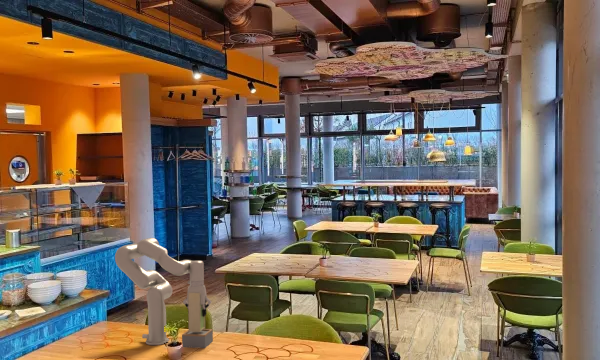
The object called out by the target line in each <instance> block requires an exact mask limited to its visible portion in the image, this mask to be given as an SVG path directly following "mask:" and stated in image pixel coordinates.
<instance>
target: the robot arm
mask: <svg viewBox="0 0 600 360" xmlns="http://www.w3.org/2000/svg"><path fill="white" fill-rule="evenodd" d="M168 253H169V252H168V250H167V248H165V247H163V246H161V245H160V243H159V241H158V239H156V238H154V237H149V238H143V239H141V240H140V241H138V242H135V243H132V244H125V245H123V246H120V247H118V249H117V250H116V252H115V255H114V259H115V264H116V266H117V267H118V268H119V270H121V272H123V273H124V274H125V275H126V276H127V277H128V278H129V279H130V280H131V281H132V282H133V283H134V284H135V285H136V286H137V287H138V289H140V290H145V289H148V290H147V291H146V296H145V297H146V303H147V314H148V316H147V317H148V319H147V321H148V323H147V324H148V329H147V330H148V333H143V334H142V336H141V337H142V339H146V340H145V344H146V345H149V346H160V345H165V344H167V343H166V342H168V341H169V342H170V339H169V338H168V337H167V331H166V332H164V326H165V325H166V326H167V310H166V309H167V306H166V303H165V300H167V299H169V298H170V297H171V296H172V294H173V291H174V290H173V287H172V285H171V283H170V282H169V281H168V280H166V278H165V277H163V276H162V275H161V274H160V273H159V272H158V271H157V270H154V269H148V270H145V269H144V268H143V267H141V265H140V264H139V263H138V262H135V261H134V259H138V258H140V257H144V256H145V257H147V258H149V259H151V260H153V261H154V262H156V263H158V264H159V265H160V266H161V268H162V269H163V270H165V271H166V272H168V273H170V274H172V275H174V276H177V277H178V276H180V277H181V276H184V275H186V274H189V280H188V281H187V284H189V285H188V286H187V293H186V294H187V295H186V298H185V299H183V301H182V303H183V304H184V306H185V307H186V308H187V312H188V313H187V314H188V315H189V305H188V293H189V292H190V293H201V294H200V305H202V307H203V310H202V313H203V317H204V316H205V317H206V315H207V309H208V307H209V306H210V305H211V304H212V302H213V301H212V300H211V299H210V298H209V297H208V295H207V289H206V285H205V280H204V279H205V276H204V275H205V271H204V268H205V265H204V264H205V263H204V261H203V260H191V259H183V260H180V261H178V260H176V259H174V258H172V257H171V256H169V255H168ZM169 342H168V343H169ZM164 343H165V344H164Z"/></svg>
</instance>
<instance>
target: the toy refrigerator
mask: <svg viewBox="0 0 600 360" xmlns="http://www.w3.org/2000/svg"><path fill="white" fill-rule="evenodd" d="M200 294H201V293H190V292H189V293H188V305H189V314H188V330H189V332H200V331H202V330H203V329H206V316H204V317H203V313H202V310H203V307H202V305H200Z"/></svg>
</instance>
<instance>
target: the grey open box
mask: <svg viewBox="0 0 600 360" xmlns="http://www.w3.org/2000/svg"><path fill="white" fill-rule="evenodd" d="M213 332H214V331H213V329H210V328H205V329H203V330H202V331H200V332H189V329H188V330H186V331H185V332H183V333H182V334H181V345H182V344H183V347H182V348H194V349H195V348H196V349H198V348H199V349H206V348H207V347H209V345H211V343H213V342H214V339H213V338H214V333H213Z"/></svg>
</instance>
